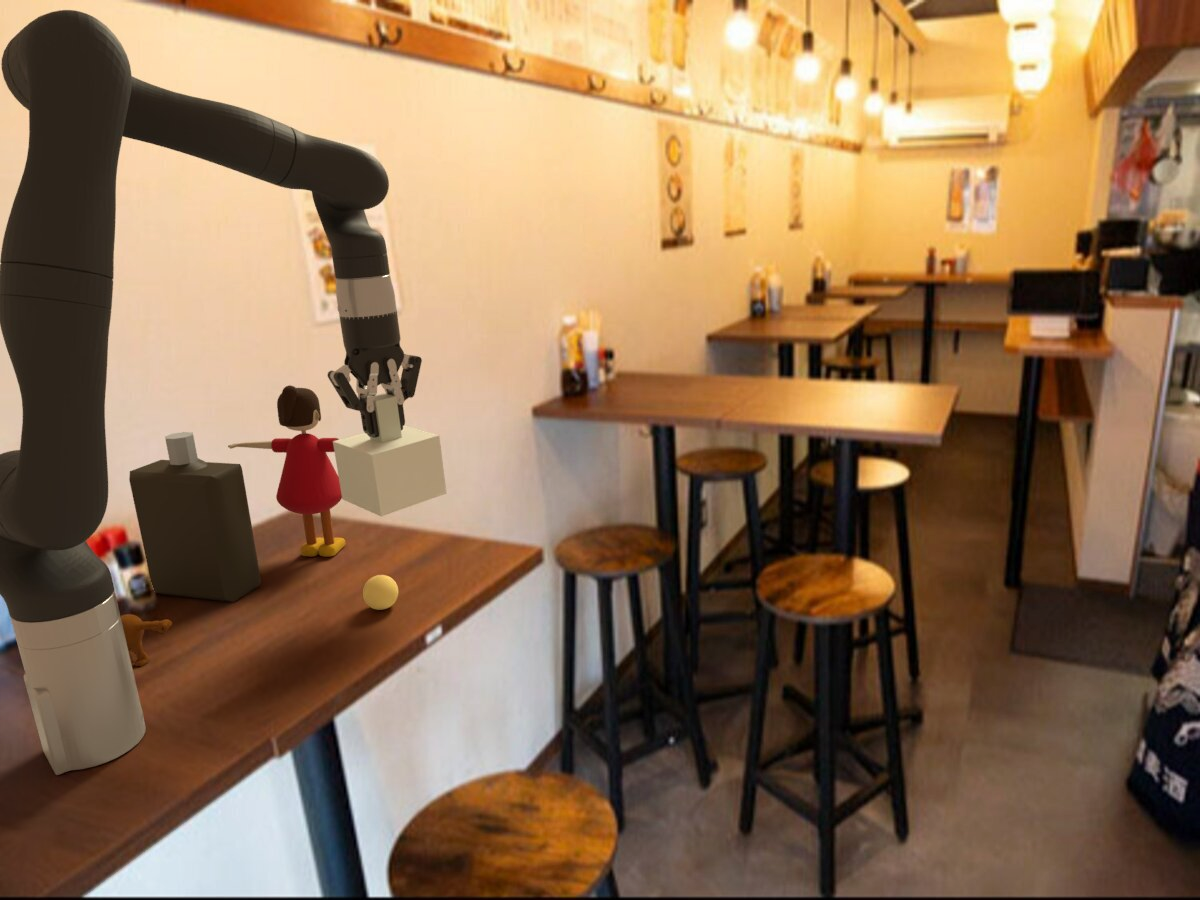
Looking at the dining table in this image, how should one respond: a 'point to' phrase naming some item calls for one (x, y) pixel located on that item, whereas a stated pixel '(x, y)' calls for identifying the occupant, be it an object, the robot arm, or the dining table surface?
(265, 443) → the toy
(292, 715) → the dining table surface
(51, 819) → the dining table surface
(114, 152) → the robot arm
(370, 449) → the cover
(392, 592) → the ball
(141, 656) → the toy figurine
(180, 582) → the bottle
